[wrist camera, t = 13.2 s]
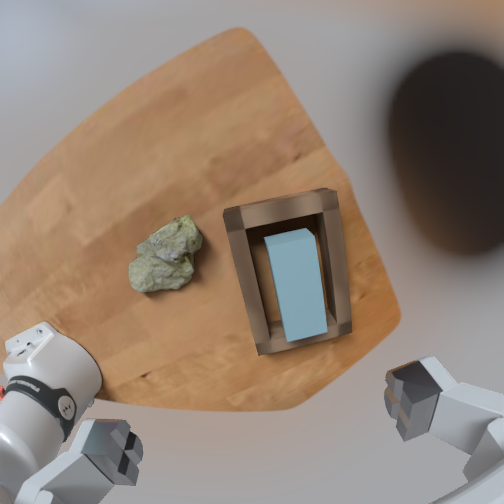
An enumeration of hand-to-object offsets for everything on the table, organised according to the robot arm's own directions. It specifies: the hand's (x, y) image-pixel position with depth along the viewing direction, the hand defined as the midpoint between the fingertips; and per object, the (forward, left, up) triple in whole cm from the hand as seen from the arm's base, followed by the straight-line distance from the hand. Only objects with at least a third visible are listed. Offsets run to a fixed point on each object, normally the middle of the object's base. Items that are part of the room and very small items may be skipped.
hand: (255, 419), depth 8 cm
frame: (+5, -8, -31) cm, 32 cm away
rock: (-10, -2, -32) cm, 33 cm away
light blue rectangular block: (+5, -8, -28) cm, 29 cm away
